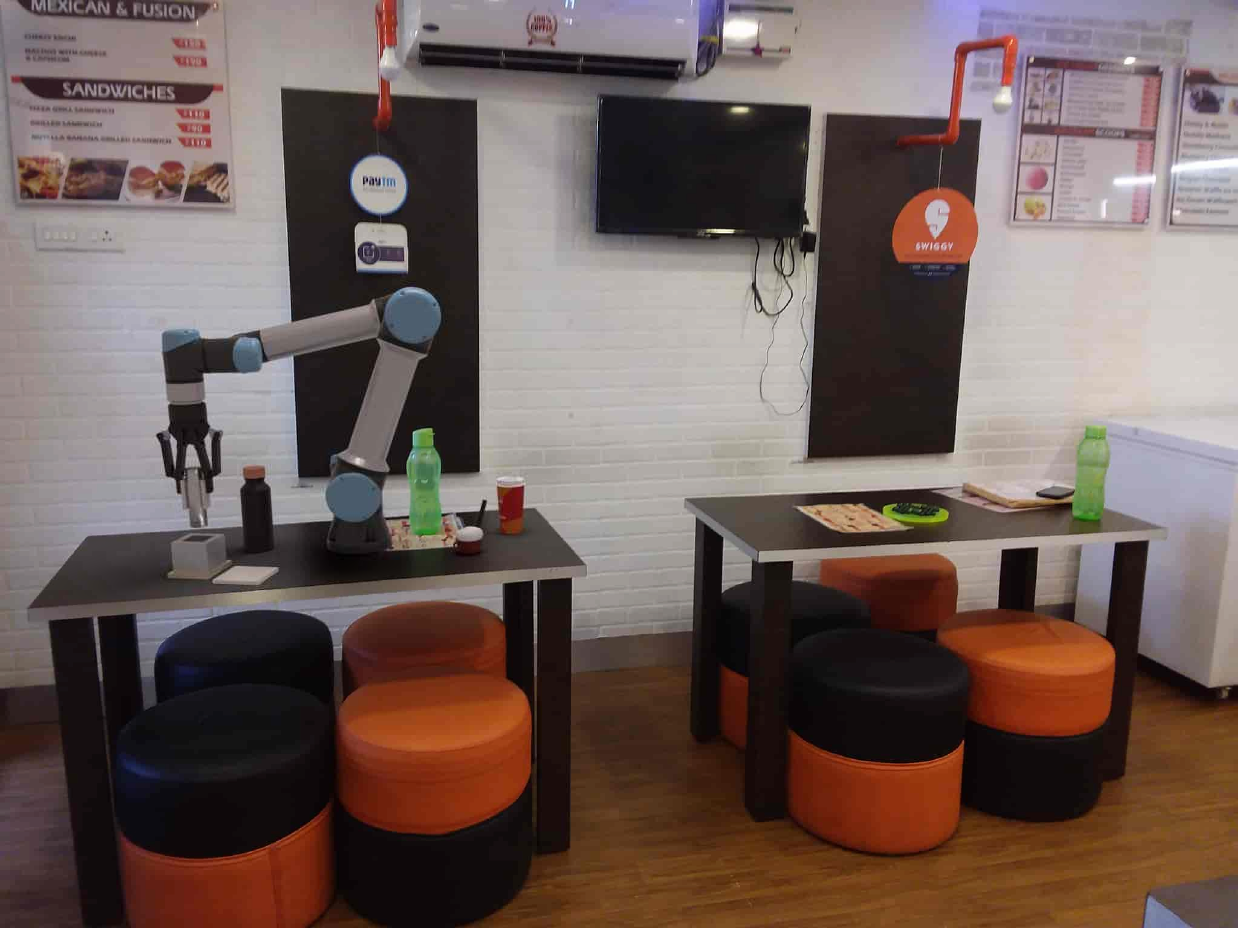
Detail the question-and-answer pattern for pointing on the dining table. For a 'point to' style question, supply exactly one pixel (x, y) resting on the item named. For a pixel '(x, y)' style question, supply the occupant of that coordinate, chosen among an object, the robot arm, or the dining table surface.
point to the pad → (245, 575)
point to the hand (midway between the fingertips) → (196, 507)
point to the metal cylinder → (195, 497)
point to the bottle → (256, 511)
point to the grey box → (198, 556)
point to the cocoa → (471, 535)
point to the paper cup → (510, 504)
